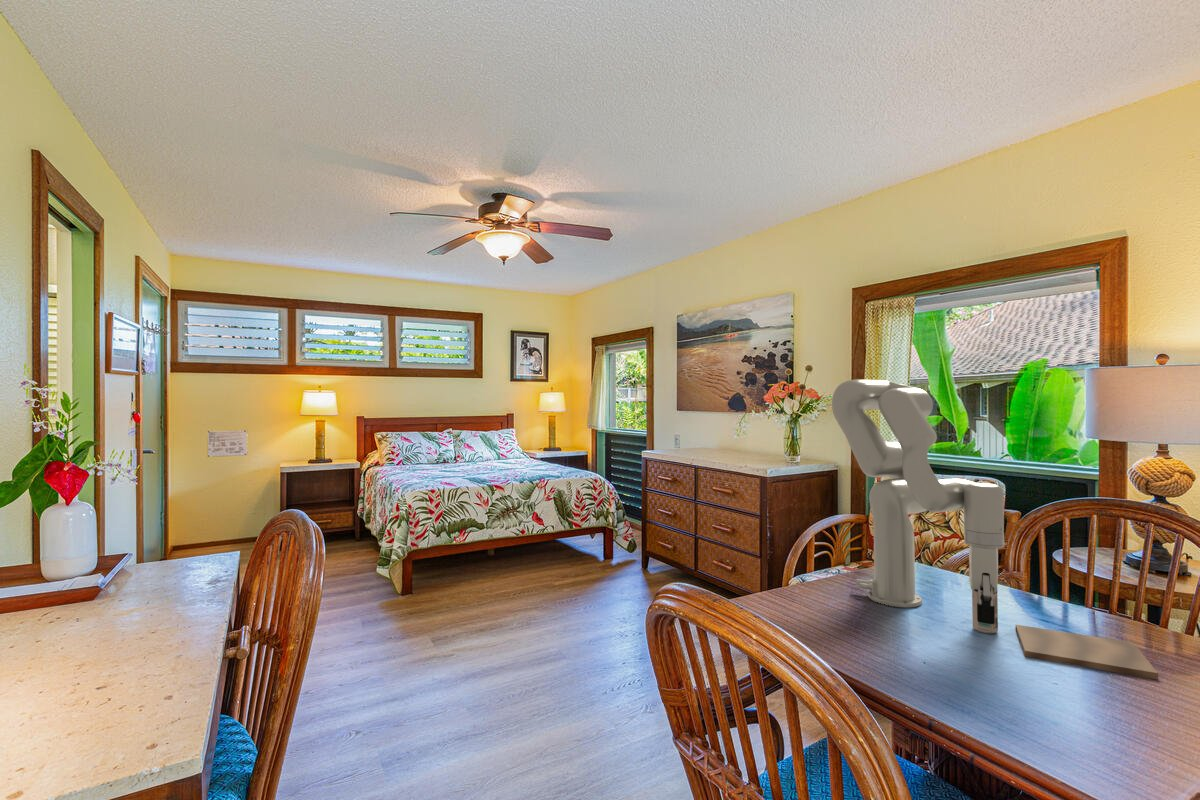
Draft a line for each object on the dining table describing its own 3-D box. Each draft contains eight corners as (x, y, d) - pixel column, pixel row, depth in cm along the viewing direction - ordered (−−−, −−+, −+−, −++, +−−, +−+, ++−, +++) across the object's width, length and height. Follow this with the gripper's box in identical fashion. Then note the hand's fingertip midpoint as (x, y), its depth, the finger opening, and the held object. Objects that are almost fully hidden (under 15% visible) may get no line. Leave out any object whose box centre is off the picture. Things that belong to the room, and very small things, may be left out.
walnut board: (1025, 656, 117) (1024, 650, 117) (1015, 629, 131) (1015, 624, 131) (1158, 679, 107) (1158, 673, 107) (1132, 648, 120) (1132, 642, 120)
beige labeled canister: (990, 627, 132) (989, 574, 132) (1002, 635, 128) (1001, 581, 128) (968, 626, 133) (967, 574, 133) (979, 634, 128) (979, 580, 128)
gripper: (962, 529, 140) (963, 604, 139) (965, 544, 125) (967, 628, 125) (1000, 532, 136) (1001, 609, 136) (1008, 548, 121) (1009, 634, 121)
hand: (985, 617), depth 130 cm, fingers open, 5 cm apart
